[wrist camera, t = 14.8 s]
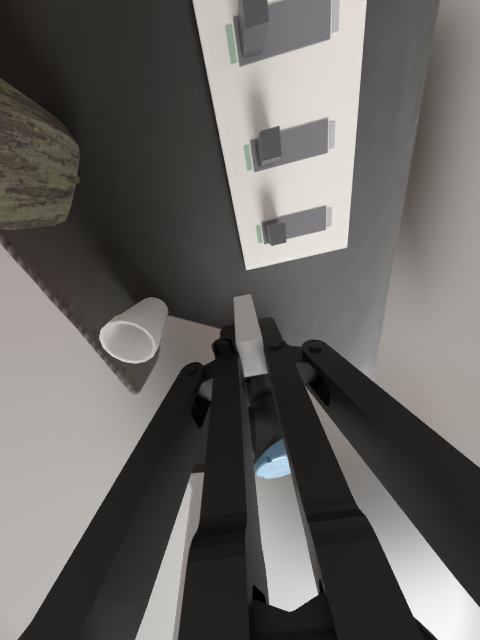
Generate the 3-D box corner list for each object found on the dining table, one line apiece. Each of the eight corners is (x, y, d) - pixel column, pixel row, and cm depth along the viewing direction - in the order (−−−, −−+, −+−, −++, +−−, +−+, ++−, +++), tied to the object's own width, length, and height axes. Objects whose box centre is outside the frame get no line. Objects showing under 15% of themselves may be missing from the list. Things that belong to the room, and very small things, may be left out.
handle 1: (262, 52, 23) (269, 21, 19) (243, 58, 23) (245, 28, 20) (258, 12, 22) (265, -31, 18) (237, 18, 22) (239, -22, 18)
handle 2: (280, 238, 34) (286, 242, 31) (266, 241, 35) (271, 246, 31) (278, 220, 33) (285, 222, 29) (264, 224, 33) (269, 226, 29)
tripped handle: (274, 163, 29) (281, 156, 25) (259, 167, 29) (263, 161, 25) (272, 137, 27) (279, 125, 23) (255, 141, 27) (259, 131, 24)
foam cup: (152, 282, 41) (122, 310, 30) (183, 312, 45) (167, 346, 34) (124, 306, 43) (88, 340, 32) (156, 332, 47) (133, 370, 36)
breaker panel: (340, 245, 38) (347, 247, 36) (245, 266, 40) (246, 270, 37) (359, -67, 21) (375, -101, 19) (190, -9, 22) (186, -34, 20)
